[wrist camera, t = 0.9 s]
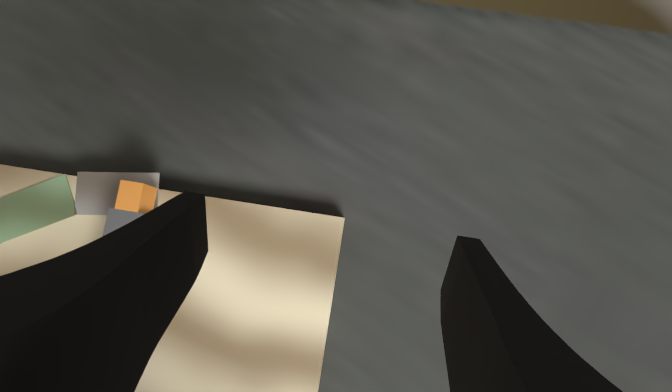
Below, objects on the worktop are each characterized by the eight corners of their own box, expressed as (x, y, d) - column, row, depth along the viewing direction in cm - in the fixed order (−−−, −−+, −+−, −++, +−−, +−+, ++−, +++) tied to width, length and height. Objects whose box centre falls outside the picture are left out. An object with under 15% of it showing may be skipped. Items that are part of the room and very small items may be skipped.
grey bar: (122, 475, 23) (93, 505, 21) (53, 463, 23) (16, 491, 21) (179, 191, 25) (159, 184, 22) (115, 181, 25) (88, 173, 22)
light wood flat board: (305, 475, 25) (302, 488, 23) (-106, 403, 25) (-132, 412, 24) (347, 204, 26) (347, 201, 25) (-39, 144, 27) (-59, 139, 26)
